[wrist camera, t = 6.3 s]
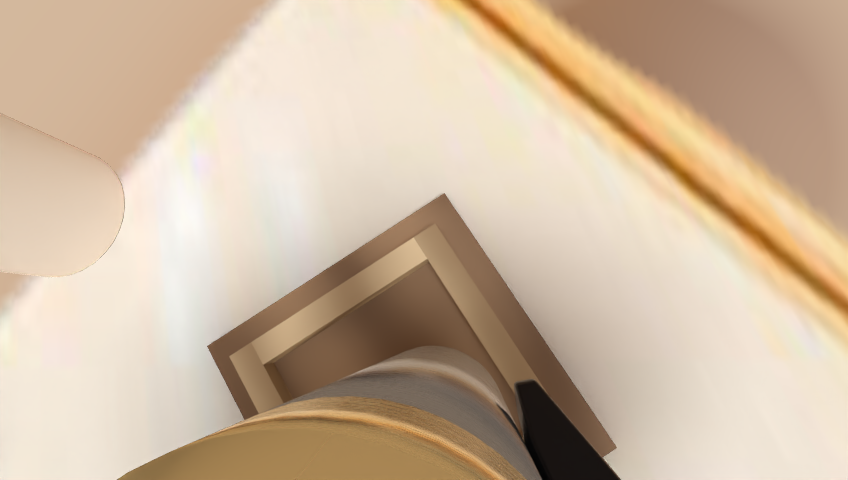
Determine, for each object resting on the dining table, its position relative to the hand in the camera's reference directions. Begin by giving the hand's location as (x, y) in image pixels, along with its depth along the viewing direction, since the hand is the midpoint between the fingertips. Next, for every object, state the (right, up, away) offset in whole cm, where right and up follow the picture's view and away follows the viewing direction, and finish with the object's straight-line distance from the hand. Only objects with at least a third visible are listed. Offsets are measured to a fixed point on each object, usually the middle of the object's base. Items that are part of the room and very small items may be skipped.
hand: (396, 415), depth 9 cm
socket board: (0, -4, +13) cm, 14 cm away
